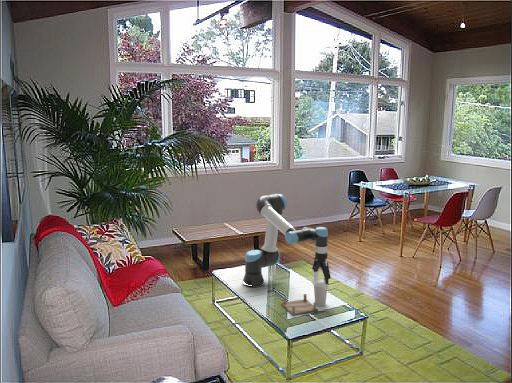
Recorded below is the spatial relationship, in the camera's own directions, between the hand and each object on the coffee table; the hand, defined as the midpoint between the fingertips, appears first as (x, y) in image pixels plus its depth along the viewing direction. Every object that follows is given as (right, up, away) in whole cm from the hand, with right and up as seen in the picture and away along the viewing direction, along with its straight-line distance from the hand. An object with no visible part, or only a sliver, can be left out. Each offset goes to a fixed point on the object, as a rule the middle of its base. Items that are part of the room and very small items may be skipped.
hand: (321, 285), depth 266 cm
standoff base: (-14, -13, -4) cm, 20 cm away
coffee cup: (0, -12, +2) cm, 13 cm away
